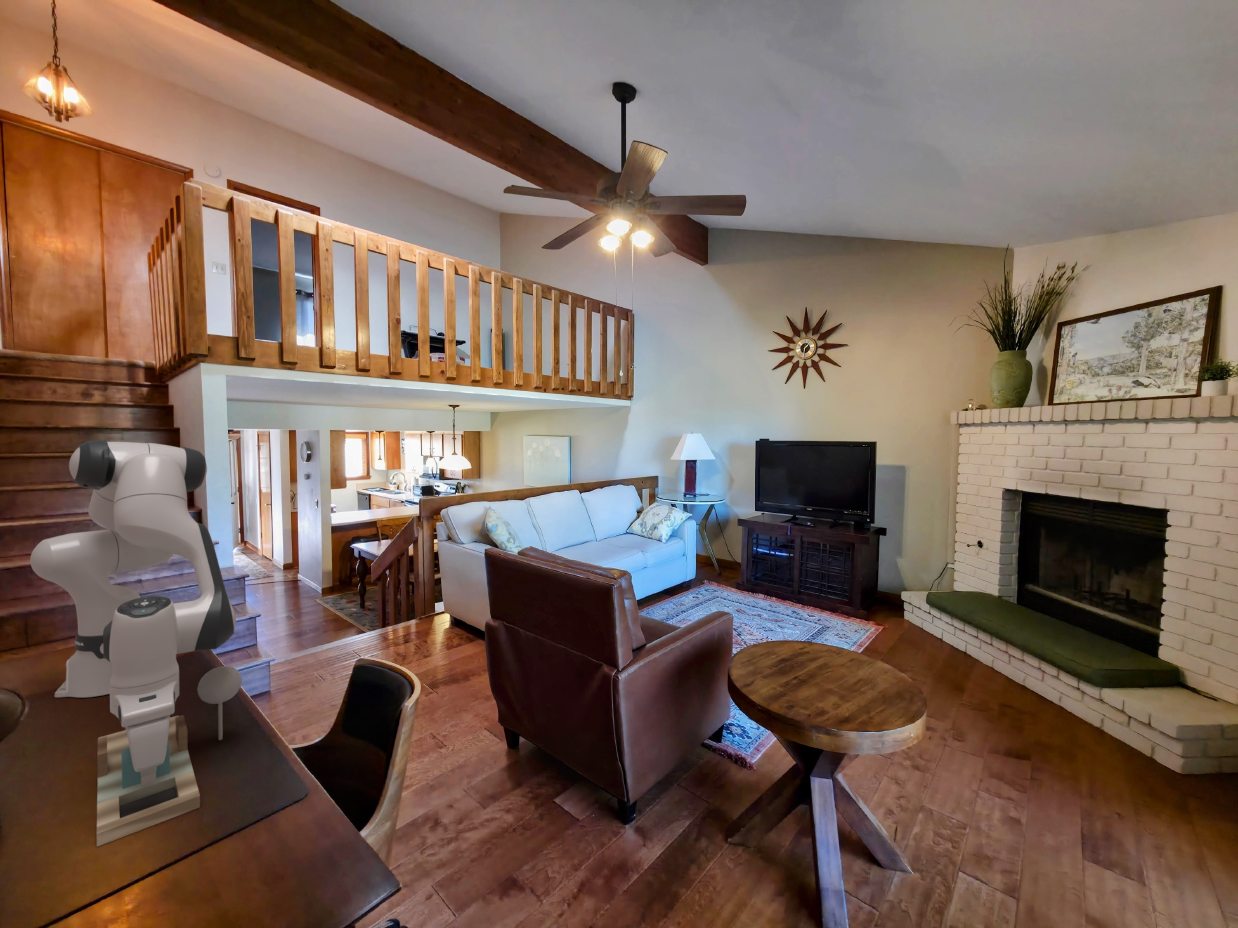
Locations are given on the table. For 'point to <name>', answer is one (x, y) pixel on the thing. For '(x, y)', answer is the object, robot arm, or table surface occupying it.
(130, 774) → the block
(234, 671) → the lollipop
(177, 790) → the deck
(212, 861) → the table surface
